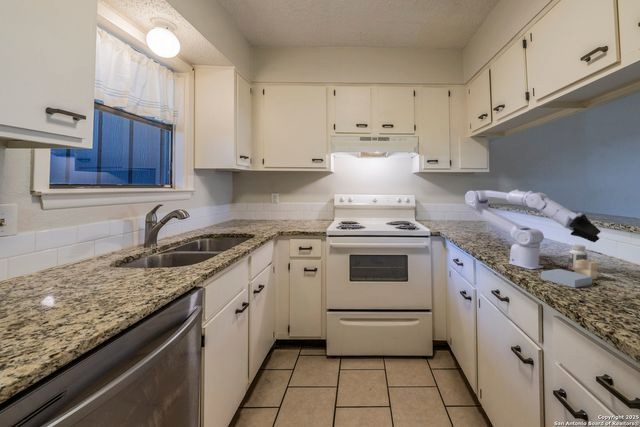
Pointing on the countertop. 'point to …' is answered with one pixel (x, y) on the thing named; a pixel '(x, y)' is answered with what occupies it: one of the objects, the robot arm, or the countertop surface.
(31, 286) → the countertop surface
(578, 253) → the pill bottle
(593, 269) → the maple cube
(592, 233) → the robot arm
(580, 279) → the slate-blue block
